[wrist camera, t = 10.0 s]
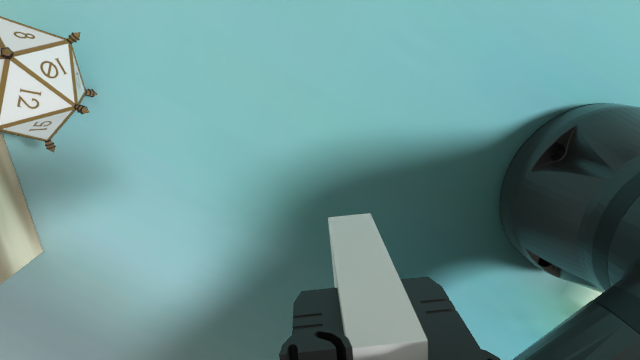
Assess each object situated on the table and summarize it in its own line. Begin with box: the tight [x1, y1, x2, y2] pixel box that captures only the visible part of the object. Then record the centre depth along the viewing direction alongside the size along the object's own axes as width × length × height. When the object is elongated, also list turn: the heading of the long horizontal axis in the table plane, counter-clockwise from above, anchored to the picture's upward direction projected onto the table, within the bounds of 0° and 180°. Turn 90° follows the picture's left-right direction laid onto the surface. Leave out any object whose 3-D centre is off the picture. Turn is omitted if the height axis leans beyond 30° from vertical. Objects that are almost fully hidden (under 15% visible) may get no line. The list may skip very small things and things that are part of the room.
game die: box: [0, 16, 97, 152], centre depth 24 cm, size 9×8×10 cm
